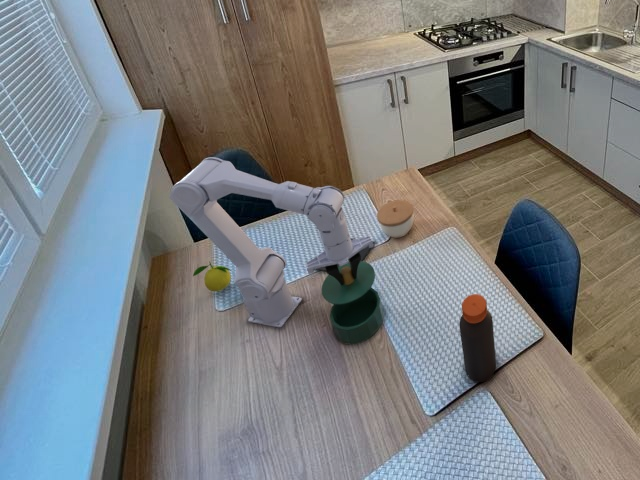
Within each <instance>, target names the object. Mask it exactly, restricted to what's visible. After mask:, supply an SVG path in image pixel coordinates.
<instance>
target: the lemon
mask: <svg viewBox="0 0 640 480" xmlns="http://www.w3.org/2000/svg"><path fill="white" fill-rule="evenodd" d="M208 263H209V264H208V265H202V266H199V267H197V268H196V269H195V270H194V272H193V275H192V277H195V276H197V275H200V273H202V272H203V271H204V270H206V269H207V268H209V266H210V268H209V269H208V270H207V271H206V273H205V275H204V278H203V280H204V281H203V282H204V285H205V287H206V289H207V290H209V291H211V292H220V291H223V290H224V289H226V288H227V287H229V285H230V283H231V281H232V276H231V272H232V270H231V269H230V268H228V267H226V266H223V265H215V266H214V265H212V263H211V261H209V262H208ZM230 271H231V272H230Z"/></svg>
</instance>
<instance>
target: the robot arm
mask: <svg viewBox="0 0 640 480" xmlns="http://www.w3.org/2000/svg"><path fill="white" fill-rule="evenodd" d="M230 194H236V195H241V196H242V195H243V196H247V197H252V198H259V199H263V200H269V201H271V203H272V204H273V205H274V207H275V208H276V209H281V210H285V211H288V212H292V213H295V214H300V215H304V216H306V217H307V219H308V220H309V221H310V222H311V223H312V224H314V225H315V227H316V229H317V231H318V233H319V237H320V239H321V243H322V246H323V249H324V251H322V252H321V253H319V254H318V255H317V256H315V257H313V258H312V259H310V260H309V261H306V262H305V263H304V264H305V266H306V268H305V269H306V271H307V274H308V275H311V274H314V273H315V271H317V270H316V269H318V268H320V267H324V266H325V268H326V271H325V272H326V273H327V275H331V276H333V277H334V278H336V279H337V280H338V281H339V283H340V284H341V286H342V285H344V282H343V279H342V277H341V274H340V271H339V269H338V266H337V264H339V266H342V265H345V264H347V263H348V262H350V267H351V271H352V274H353V278H354V279H356V278H357V269H358V265H359V263H360V261H361V255H360V253H359V251H360V250H362V249H364V248H366V247H368V246H369V248H371V247H372V248H373V247H374V246H375V244H374V245H373V242H374V240H373V238H372V236H371V235H367V236H364V237H359V238H353V239H354V240H351V239H352V238H351V235H350V231H349V228H348V224H347V220H346V217H345V213H344V209H343V207H342V206H343V205H344V202H345V194H344V193H343V191H342V190H341V189H339V188H337V187H335V186H333V185H325V186H322V187H320V186H316V187H312V186H309V185H304V184H300V183H298V182H295V181H289V180H287V181H283V182H281V183H275V182H273V181H270V180H267V179H264V178H262V177H259V176H256V175H253V174H250V173H247V172H244V171H241V170H238V169H236V167H235V166H234V164H233V163H232V162H231V161H229V160H224V159H221V158H219V157H215V156H209V157H206V158H204V159H203V160H202V161H200V163H199V164H198V165H197V166H196V167H195V168H193V169H192V170H191V171H190V172H189V173H187V174H186V175H185V176H184V177H183V178H182V179H181V180H179V181H177V182H176V183H175V184H174V185H173V186H172V188H171V189H170V193H169V196H168V197H169V198H168V199H170V200H171V201H172V202H173V203H174V204H175V205H176V206H177V207H178V209H180V210H181V212H182V213H183V214H184V215H186V217H187V218H189V220H190V221H192V222H193V224H194V225H195V226H196V227H197V228H198V229H199V230H200V231H201V232H202V233H203V234H204V235H205V236H206V237H207V238H208V239H209V240H210V241H211V242H212V243H213V244H214V246H216V247H217V249H218V250H220V251H221V253H222V254H223V255H224V256H225V257H226V258H227V259H228V260H229V261H230V262H231V263H232V264H233V266H235V273H234V279H233V280H234V281H233V282H234V283H233V284H234V285H236V287H237V288H238V289H239V293H240V295H241V297H242V301H243V304H244V306H245V308H246V310H247V312H248V314H249V318H248V319H247V321H248V322H249V323H254V324H258V325H264V326H269V327H275V328H283V326H284V325H285V323H286V322H287V321H288V319H289V318H290V317H291V316H292V314H293V313H294V312H295V310H296V309H297V307H298V306H299V305H300V303H301V302H302V300H303V299H302V297H298V296H293V295H292V294H291V291H290V288H289V286H288V283H287V281H286V278H285V271H284V269H285V268H286V266H287V260H286V259H285V257H284V256H283V255H281V254H280V253H278V252H276V251H274V250H273V248H272V247H261V248H260V247H258V245H256V244H255V243H254V241H253V240H252V239H251V238H250V237H249V236H248V235H247V233H246V232H245V231H244V230H243V229H242V228H241V227H240V226H239V224H237V222H236V221H235V220H234V219H233V218H232V217H231V216H230V214H228V213H227V212H226V210H225V209H223V207H222V206H221V205H220V204H219V203H218V200H219V199H222V198H224V197H226V196H228V195H230ZM372 248H371V249H372ZM348 259H349V261H348Z"/></svg>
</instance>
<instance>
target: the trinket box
mask: <svg viewBox="0 0 640 480" xmlns="http://www.w3.org/2000/svg"><path fill="white" fill-rule="evenodd" d="M414 212H415V211H414V206H413V203H411V202H409V201H408V200H404V199H394V200H391V201H388V202H386V203H385V204H383V205H382V206H381V207H380V208H379V209H378V211H377V212H376V219H377V222H378V224H379V227H380V229H381V231H382V232H383V234H385V235H386V236H388V237H391V238H394V239H398V238H402V237H404V236H406V235H407V234H408V233H409V231H410V230H411V229H412V227H413V225H414V220H415V213H414Z"/></svg>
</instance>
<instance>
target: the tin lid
mask: <svg viewBox="0 0 640 480" xmlns="http://www.w3.org/2000/svg"><path fill="white" fill-rule="evenodd" d="M338 269H339V271H340V274H341V277H342V279H343V282H344V285H342V286H341V284H340V283H339V281H338V280H337V279H336V278H334V277H333V276H331V275H329V274H327V276H326V277H325V279H324V280H323V282H322V285H321V296H322V297H323V300H325V301H326V302H327V303H329V304H332V305H334V304H337V305H341V304H347V303H350V302H353V301H355V300H357V299H359V298H360V297H362V296H363V295H364V294H365V293H367V292H368V290H369V289H370V288H372V287H373V285H374V283H375V279H376V272H375V271H376V270H375V268H374V267H373V265H371V264H370V263H368V262H367V261H364V260H363V261H360V263H359V265H358V269H357V278H356V279H354V278H353V274H352V271H351V267H350V262H348V263H347V264H345V265H342V266H339V267H338Z"/></svg>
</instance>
